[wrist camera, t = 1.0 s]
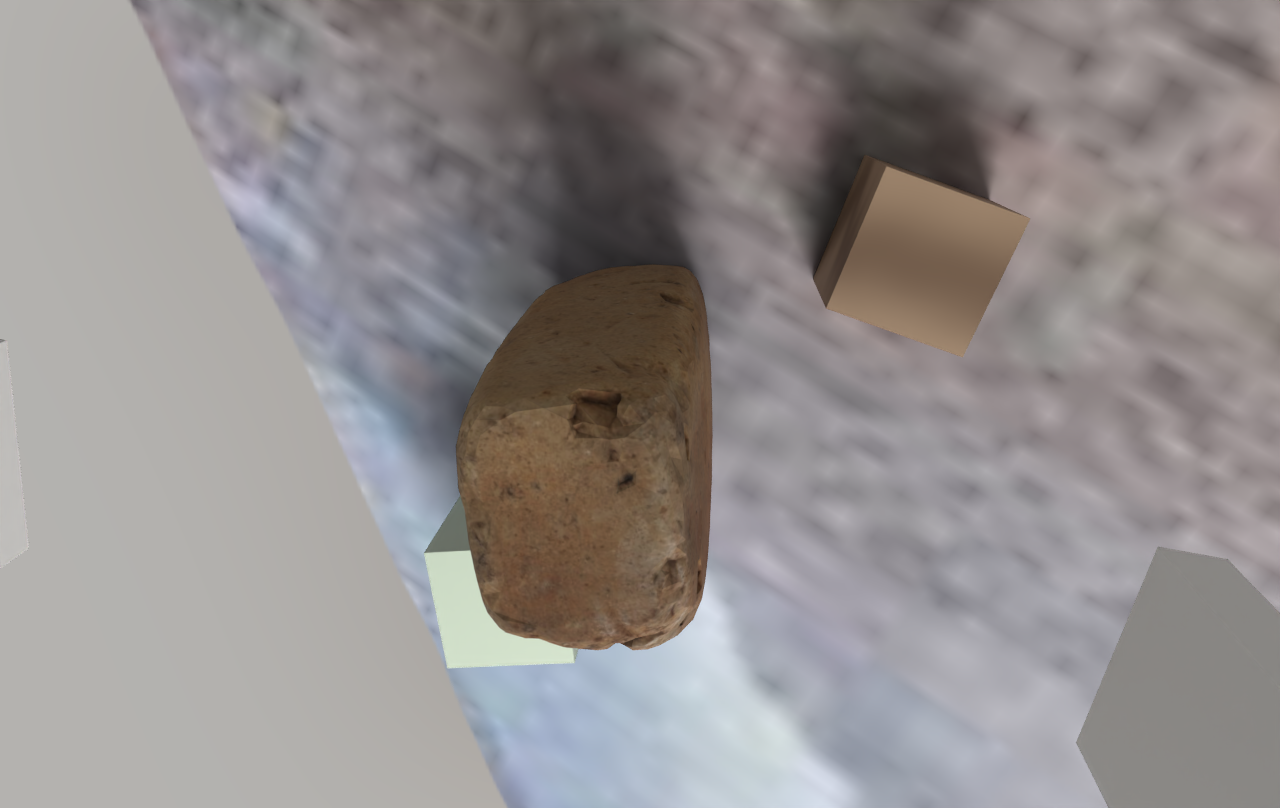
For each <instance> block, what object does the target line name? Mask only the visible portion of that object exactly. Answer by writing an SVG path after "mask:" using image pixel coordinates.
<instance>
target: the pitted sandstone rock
mask: <svg viewBox="0 0 1280 808" xmlns="http://www.w3.org/2000/svg"><path fill="white" fill-rule="evenodd" d="M456 458H457V474H458V488H459V492H460V496H461V499H462V503H463V507H464V510H465V517H466V525H467V533H468V541H469V546H470V551H471V556H472V561H473V565H474V570H475V574H476V578H477V582H478V586H479V590H480V593H481V597H482V601H483V603H484V606H485V608H486V611H487V613H488V614H489V615H490V617H491V618H492V619H493V621H494V622H495V623H496V624H497V626H498V627H499V628H500V629H502V630H503V631H504V632H506V633H509V634H512V635H516V636H519V637H523V638H534V639H541V640H544V641H547V642H549V643H552V644H555V645H558V646H562V647H565V648H578V649H590V650H602V649H608V648H609V647H611V646H612V645H613V644H615V643H621V644H623V645H625V646H627V647H629V648H630V649H632V650H643V649H650V648H653V647H655V646H658V645H661V644H663V643H664V642H666V641H668V640H670V639H672V638H673V637H675V636H677V635H678V634H679V633H680V632H681V631H682V630H683V629H684V628H685V627H686V626H687V625H688V624H689V623H690V622H691V621H692V620H693V618H694V616H695V613H696V611H697V609H698V606H699V604H700V602H701V599H702V595H703V589H704V584H705V577H706V568H707V559H708V547H709V531H710V508H711V484H712V389H711V362H710V351H709V334H708V325H707V315H706V308H705V302H704V298H703V294H702V291H701V288H700V285H699V283H698V280H697V279H696V277H695V276H694V275H693V274H692V272H691V271H689V270H688V269H686V268H685V267H680V266H669V265H655V264H653V265H639V266H622V267H612V268H607V269H601V270H597V271H594V272H591V273H588V274H585V275H581V276H578V277H576V278H574V279H572V280H569V281H567V282H564V283H561V284H558V285H555V286H553V287H551V288H549V289H548V290H546V291H545V292H544V294H543V295H541V296H539V297H538V298H537V299H536V300H535V301H534V302H533V304H532V305H531V306H530V307H529V309H528V310H527V311H526V312H525V314H524V315H523V316H522V317H521V318H520V319H519V321H518V323H517V324H516V325H515V326H514V327H513V329H512V330H511V331H510V333H509V334H508V335H507V337H506V338H505V340H504V341H503V343H502V344H501V345H500V347H499V348H498V349H497V351H496V352H495V354H494V356H493V358H492V360H491V361H490V362H489V363H488V364H487V366H486V368H485V370H484V372H483V374H482V376H481V378H480V380H479V382H478V384H477V386H476V388H475V390H474V392H473V394H472V396H471V398H470V400H469V403H468V406H467V408H466V411H465V413H464V416H463V419H462V423H461V427H460V431H459V435H458V440H457V444H456Z"/></svg>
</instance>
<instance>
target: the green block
mask: <svg viewBox="0 0 1280 808" xmlns="http://www.w3.org/2000/svg"><path fill="white" fill-rule="evenodd" d="M424 555H425V560H426V565H427V570H428V575H429V580H430V585H431V590H432V594H433V599H434V604H435V609H436V614H437V619H438V624H439V629H440V634H441V639H442V644H443V649H444V653H445V658H446V663H447V668H463V667H487V666H511V665H535V664H559V663H575V659H576V655H577V652H578V648H565V647H562V646H558V645H555V644H552V643H549V642H547V641H544V640H541V639H534V638H523V637H519V636H516V635H512V634H509V633H506V632H504V631H503V630H502V629H500V628H499V627H498V626H497V624H496V623H495V622H494V621H493V619H492V618H491V617H490V615H489V614H488V613H487V611H486V608H485V606H484V603H483V601H482V597H481V593H480V590H479V586H478V582H477V578H476V574H475V570H474V565H473V561H472V556H471V551H470V546H469V541H468V533H467V525H466V517H465V510H464V507H463V503H462V499H461V496H460V497H459V498H458V500H457V502H456V503H455V505H454V506H453V508H452V510H451V511H450V513H449V514H448V516H447V517H446V519H445V521H444V522H443V524H442V525H441V527H440V529H439V530H438V532H437V533H436V535H435V536H434V538H433V540H432V541H431V543H430V544H429V546H428V548H427V549H426V551H425V552H424Z"/></svg>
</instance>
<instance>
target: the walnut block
mask: <svg viewBox="0 0 1280 808" xmlns="http://www.w3.org/2000/svg"><path fill="white" fill-rule="evenodd" d="M1029 220H1030V218H1028V217H1026V216H1024V215H1021V214H1019V213H1017V212H1015V211H1013V210H1010V209H1008V208H1006V207H1004V206H1002V205H999V204H997V203H995V202H993V201H991V200H988V199H985V198H983V197H980V196H977V195H974V194H972V193H969V192H966V191H963V190H961V189H958V188H955V187H952V186H950V185H947V184H944V183H941V182H939V181H936V180H933V179H930V178H928V177H925V176H922V175H919V174H917V173H914V172H911V171H908V170H906V169H903V168H900V167H897V166H895V165H892V164H889V163H886V162H884V161H881V160H878V159H875V158H873V157H870V156H867V155H864V158H863V160H862V162H861V165H860V167H859V170H858V172H857V174H856V177H855V179H854V182H853V184H852V186H851V189H850V191H849V194H848V196H847V199H846V201H845V203H844V206H843V208H842V211H841V213H840V215H839V218H838V220H837V223H836V225H835V227H834V230H833V232H832V235H831V237H830V240H829V242H828V244H827V247H826V249H825V252H824V254H823V256H822V259H821V261H820V264H819V266H818V268H817V271H816V273H815V276H814V278H813V280H814V282H815V285H816V287H817V289H818V291H819V293H820V296H821V298H822V300H823V302H824V305H825V307H826V309H829V310H832V311H835V312H838V313H840V314H843V315H846V316H849V317H852V318H854V319H857V320H860V321H863V322H866V323H868V324H871V325H874V326H877V327H880V328H882V329H885V330H888V331H891V332H893V333H896V334H899V335H902V336H905V337H907V338H910V339H913V340H916V341H919V342H921V343H924V344H927V345H930V346H933V347H935V348H938V349H941V350H944V351H947V352H949V353H952V354H955V355H958V356H961V357H963V355H964V353H965V351H966V349H967V347H968V345H969V343H970V341H971V339H972V337H973V335H974V333H975V331H976V329H977V327H978V325H979V323H980V321H981V319H982V317H983V314H984V312H985V310H986V308H987V306H988V304H989V302H990V300H991V298H992V296H993V294H994V292H995V290H996V288H997V286H998V284H999V282H1000V280H1001V278H1002V276H1003V274H1004V271H1005V269H1006V267H1007V265H1008V263H1009V261H1010V259H1011V257H1012V255H1013V253H1014V251H1015V249H1016V247H1017V245H1018V243H1019V241H1020V239H1021V237H1022V235H1023V233H1024V231H1025V228H1026V226H1027V224H1028V222H1029Z"/></svg>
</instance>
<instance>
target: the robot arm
mask: <svg viewBox="0 0 1280 808" xmlns="http://www.w3.org/2000/svg"><path fill="white" fill-rule="evenodd" d="M27 549H29V545H28V535H27V526H26V516H25V507H24V497H23V488H22V479H21V469H20V459H19V450H18V441H17V431H16V421H15V412H14V402H13V393H12V383H11V374H10V364H9V355H8V345H7V340H2V339H0V569H1V568H2V567H3V566H5V565H6V564H7V563H9V562H10V561H12V560H13V559H15V558H16V557H17V556H19V555H20V554H22V553H23V552H24V551H26V550H27ZM1076 743H1077V745H1078V747H1079V749H1080V751H1081V753H1082V755H1083V757H1084V759H1085V761H1086V763H1087V765H1088V767H1089V769H1090V771H1091V773H1092V775H1093V777H1094V779H1095V781H1096V783H1097V785H1098V787H1099V789H1100V791H1101V793H1102V795H1103V798H1104V800H1105V802H1106V804H1107V806H1108V808H1280V613H1279V612H1278V611H1277V610H1276V609H1275V608H1274V607H1273V606H1272V605H1271V604H1270V603H1269V602H1268V601H1267V599H1266V598H1265V597H1264V596H1263V595H1262V594H1261V593H1260V592H1259V591H1258V590H1257V589H1256V588H1255V587H1254V586H1253V585H1252V584H1251V583H1250V582H1249V581H1248V580H1247V579H1246V578H1245V577H1244V576H1243V575H1242V574H1241V573H1240V572H1239V571H1238V570H1237V569H1236V568H1235V566H1234V565H1233V564H1232V563H1231V562H1230V561H1229V560H1228V559H1223V558H1218V557H1212V556H1206V555H1201V554H1195V553H1190V552H1184V551H1179V550H1173V549H1167V548H1162V547H1158V548H1157V550H1156V553H1155V555H1154V557H1153V560H1152V562H1151V564H1150V567H1149V569H1148V572H1147V574H1146V576H1145V579H1144V581H1143V584H1142V586H1141V588H1140V591H1139V593H1138V596H1137V598H1136V600H1135V603H1134V605H1133V608H1132V610H1131V612H1130V615H1129V617H1128V620H1127V622H1126V624H1125V627H1124V629H1123V632H1122V634H1121V636H1120V639H1119V641H1118V643H1117V646H1116V648H1115V651H1114V653H1113V655H1112V658H1111V660H1110V663H1109V665H1108V667H1107V670H1106V672H1105V675H1104V677H1103V679H1102V682H1101V684H1100V687H1099V689H1098V691H1097V694H1096V696H1095V699H1094V701H1093V703H1092V706H1091V708H1090V711H1089V713H1088V715H1087V718H1086V720H1085V722H1084V725H1083V727H1082V730H1081V732H1080V734H1079V737H1078V739H1077V742H1076Z"/></svg>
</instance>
